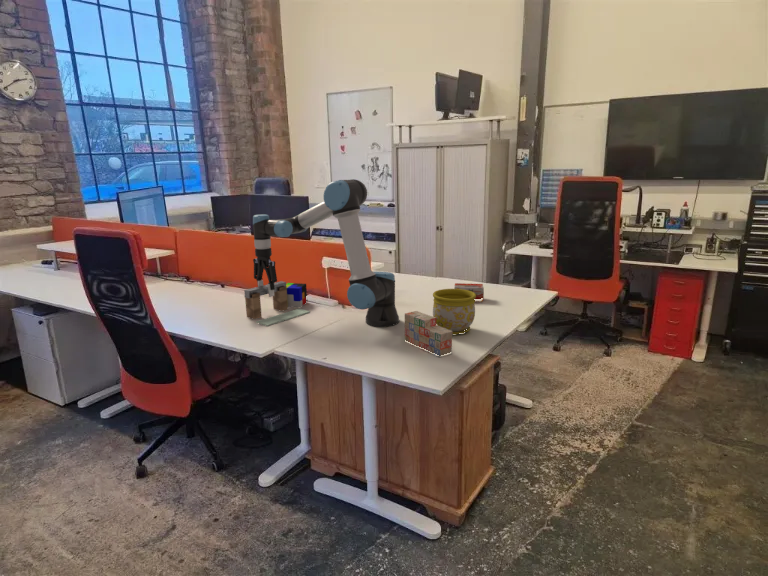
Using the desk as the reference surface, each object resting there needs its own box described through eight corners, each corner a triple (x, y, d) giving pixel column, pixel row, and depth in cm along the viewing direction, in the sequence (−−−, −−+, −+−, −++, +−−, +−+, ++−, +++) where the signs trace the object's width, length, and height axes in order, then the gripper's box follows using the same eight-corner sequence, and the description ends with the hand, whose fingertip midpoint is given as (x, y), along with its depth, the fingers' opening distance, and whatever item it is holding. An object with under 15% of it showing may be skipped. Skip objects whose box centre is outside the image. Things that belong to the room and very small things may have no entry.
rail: (281, 287, 247) (281, 281, 246) (286, 289, 244) (286, 282, 244) (244, 297, 230) (244, 290, 229) (249, 298, 228) (248, 291, 227)
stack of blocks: (452, 354, 186) (453, 323, 183) (439, 358, 183) (440, 326, 180) (416, 338, 203) (416, 310, 200) (404, 342, 200) (404, 312, 197)
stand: (287, 309, 245) (286, 286, 242) (254, 319, 230) (252, 294, 227) (279, 307, 249) (278, 284, 246) (246, 316, 234) (244, 292, 231)
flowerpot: (465, 340, 200) (467, 301, 196) (425, 333, 209) (425, 296, 205) (480, 327, 215) (481, 291, 211) (442, 321, 224) (442, 286, 220)
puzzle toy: (300, 307, 248) (299, 288, 246) (281, 306, 250) (280, 287, 248) (307, 302, 258) (306, 283, 255) (289, 301, 260) (288, 283, 257)
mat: (310, 312, 240) (310, 311, 240) (267, 326, 220) (267, 324, 220) (299, 309, 245) (299, 308, 244) (255, 322, 225) (255, 321, 225)
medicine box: (453, 301, 256) (454, 286, 254) (453, 297, 264) (454, 283, 262) (483, 302, 254) (484, 287, 252) (482, 298, 262) (483, 283, 260)
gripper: (283, 248, 228) (286, 296, 234) (256, 244, 241) (259, 290, 246) (270, 251, 223) (273, 300, 229) (243, 246, 235) (247, 293, 241)
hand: (266, 294), depth 237 cm, fingers open, 7 cm apart
